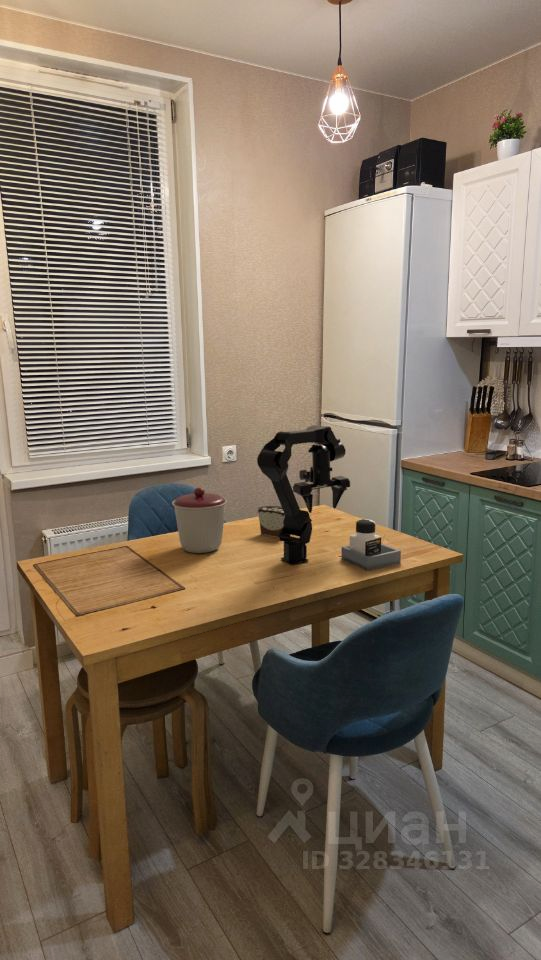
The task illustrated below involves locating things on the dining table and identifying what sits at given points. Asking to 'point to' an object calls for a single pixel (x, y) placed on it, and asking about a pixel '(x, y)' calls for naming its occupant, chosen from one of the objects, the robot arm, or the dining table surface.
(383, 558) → the open-top box
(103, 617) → the dining table surface
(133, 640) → the dining table surface
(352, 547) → the medicine bottle
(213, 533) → the canister
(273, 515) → the food container
